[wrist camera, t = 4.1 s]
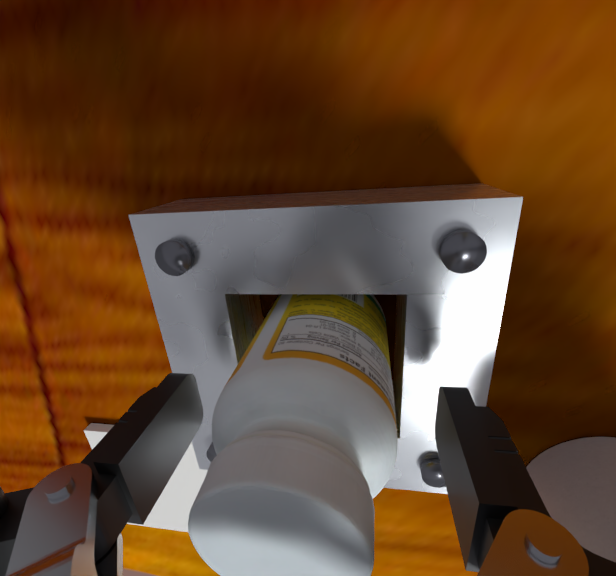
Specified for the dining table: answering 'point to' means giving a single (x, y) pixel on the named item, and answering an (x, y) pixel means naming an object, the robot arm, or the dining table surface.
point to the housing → (339, 288)
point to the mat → (166, 487)
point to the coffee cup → (581, 490)
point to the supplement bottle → (301, 444)
